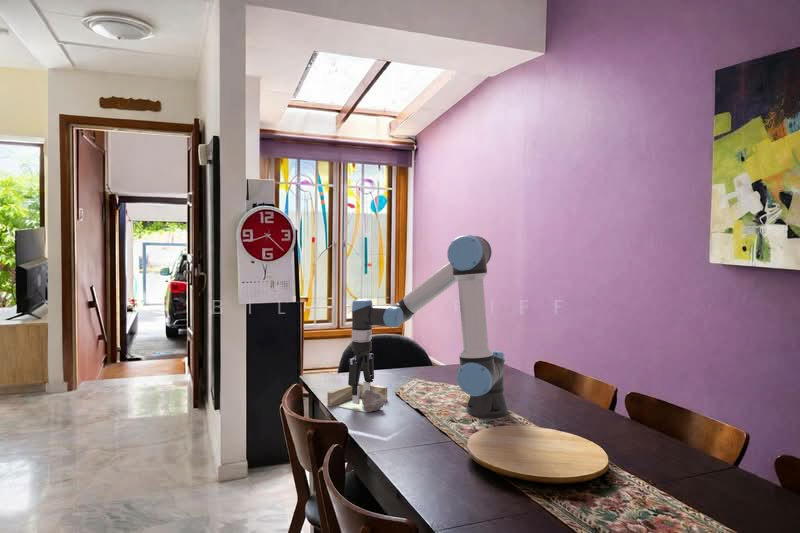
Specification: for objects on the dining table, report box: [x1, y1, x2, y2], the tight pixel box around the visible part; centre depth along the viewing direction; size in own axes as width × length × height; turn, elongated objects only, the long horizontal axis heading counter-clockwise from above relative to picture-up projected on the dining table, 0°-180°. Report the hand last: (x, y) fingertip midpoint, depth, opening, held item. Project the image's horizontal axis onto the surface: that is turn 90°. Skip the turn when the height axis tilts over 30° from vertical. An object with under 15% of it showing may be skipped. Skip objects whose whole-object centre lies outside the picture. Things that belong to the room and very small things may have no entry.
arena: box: [327, 382, 388, 407], centre depth 203 cm, size 15×18×5 cm
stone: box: [362, 390, 385, 413], centre depth 194 cm, size 10×8×6 cm
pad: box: [337, 398, 370, 414], centre depth 199 cm, size 13×12×1 cm
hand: (361, 401), depth 199 cm, fingers open, 6 cm apart
